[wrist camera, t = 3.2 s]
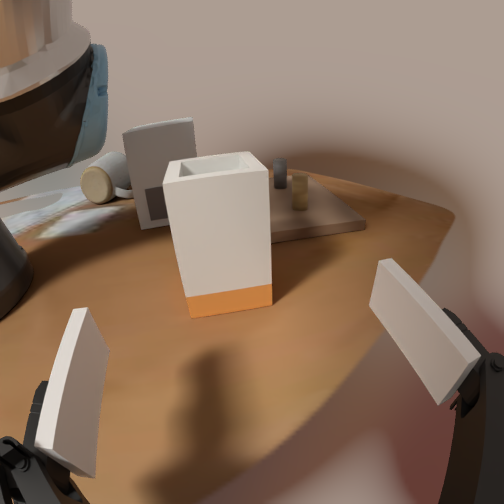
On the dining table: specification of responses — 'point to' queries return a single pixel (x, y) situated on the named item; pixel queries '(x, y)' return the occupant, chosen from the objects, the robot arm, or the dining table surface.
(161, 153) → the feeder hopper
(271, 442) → the dining table surface
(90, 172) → the ceramic mug
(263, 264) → the sleeve
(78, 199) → the dining table surface
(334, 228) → the pin board
